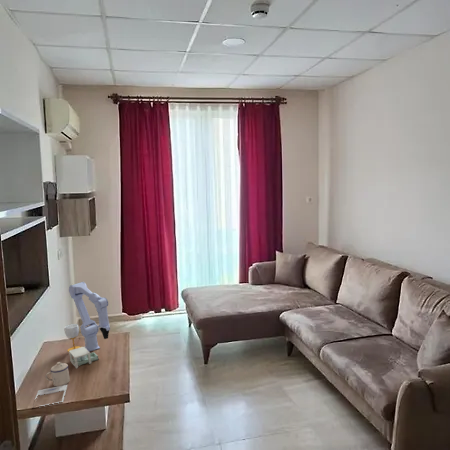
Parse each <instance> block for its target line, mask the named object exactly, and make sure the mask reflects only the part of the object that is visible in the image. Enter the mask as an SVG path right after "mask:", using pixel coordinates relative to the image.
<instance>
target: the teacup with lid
mask: <svg viewBox="0 0 450 450" xmlns="http://www.w3.org/2000/svg"><path fill="white" fill-rule="evenodd" d="M49 374H51V378H49V376H48V375H49ZM45 379H46V380H47V381H48V382H49V381H50V382H51V381H52V385H53V387H58V386H63V385H68V383H69V382H70V372H69V365H68V364H67V363H65V362H63V363H62V362H61V361H58V362H56V364H55V365H53V366H52V367H51V368H50V371H48V372H47V373H46V374H45Z"/></svg>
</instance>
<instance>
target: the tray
mask: <svg viewBox="0 0 450 450" xmlns="http://www.w3.org/2000/svg"><path fill="white" fill-rule="evenodd" d="M86 356H87V359H86V360H83V361H81V357H79V358H77V362H78V367H80V366H83V365H86V364H89V361H88V355H86ZM90 356H91V363H92V362H95V361H98V360H99V355H98V354H96V352H95V351H93V352H90ZM73 362H74V363H75V360H74V358H73Z"/></svg>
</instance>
